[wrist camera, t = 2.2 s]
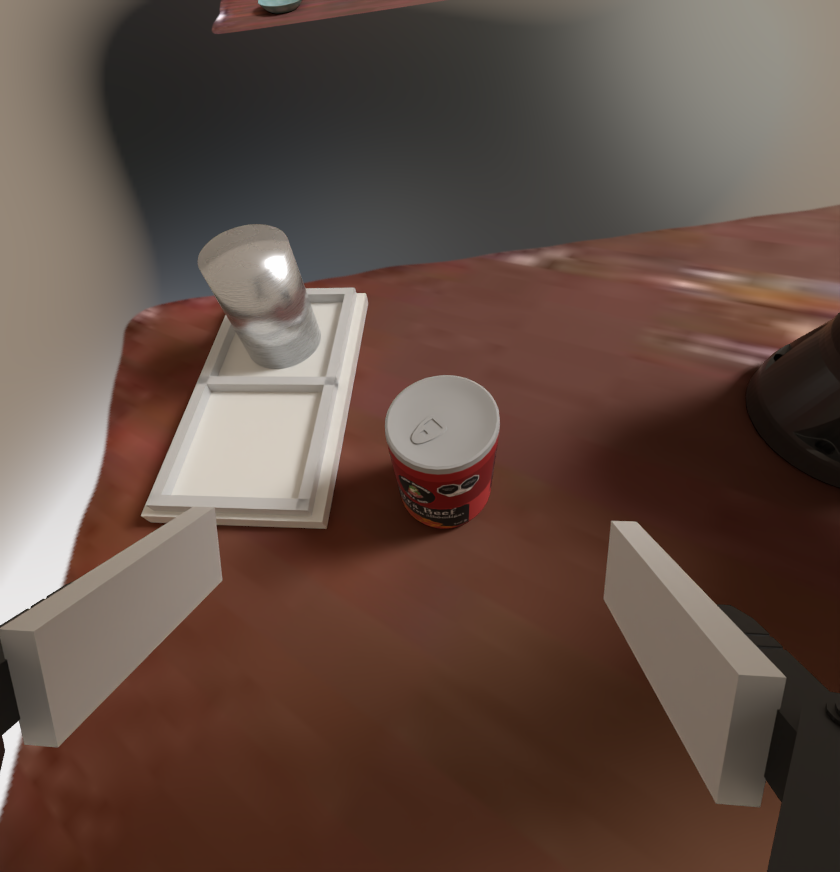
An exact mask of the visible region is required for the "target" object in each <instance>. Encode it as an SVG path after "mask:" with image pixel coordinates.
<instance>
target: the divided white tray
mask: <svg viewBox="0 0 840 872" xmlns="http://www.w3.org/2000/svg"><path fill="white" fill-rule="evenodd" d="M306 292H307V295H308V297H309V300H310V303H311V306H312V309H313V311H314V314H315V317H316V320H317V323H318V325H319V328H320V331H321V340H320V344H319V346H318V348H317V349H316V351H315V352H314V353H313V354H312V355H311V356H310V357H309V358H307V359H306V360H305V361H303V362H301V363H299V364H297V365H295V366H292V367H288V368H283V369H269V368H265V367H262V366H260V365H258V364H256V363H255V362H254V361H253V360H252V359H251V358H250V356H249V354H248V352H247V351H246V349H245V347H244V345H243V344H242V342H241V340H240V339H239V337H238V335H237V333H236V332H235V330H234V328H233V326H232V325H231V323H230V321H229V319H228V318H227V316H226V315H225V318H224V320H223V322H222V325H221V327H220V329H219V332H218V334H217V337H216V339H215V341H214V344H213V346H212V348H211V351H210V353H209V355H208V358H207V360H206V363H205V365H204V367H203V370H202V372H201V374H200V377H199V379H198V381H197V384H196V386H195V389H194V391H193V393H192V396H191V398H190V400H189V403H188V405H187V408H186V410H185V412H184V415H183V417H182V419H181V422H180V424H179V426H178V429H177V431H176V434H175V436H174V438H173V441H172V443H171V445H170V448H169V450H168V452H167V455H166V457H165V460H164V462H163V464H162V467H161V469H160V471H159V474H158V476H157V479H156V481H155V483H154V486H153V488H152V490H151V493H150V495H149V497H148V500H147V502H146V505H145V507H144V509H143V512H142V514H141V516H142V517H143V518H145V519H146V520H148V521H149V522H152V523H168V522H170V521H171V520H173V519H174V518H176V517H178V516H179V515H181V514H182V513H184V512H186V511H187V510H189V509H190V508H192V507H215V515H216V524H217V525H235V526H263V527H291V528H318V529H327V525H328V520H329V514H330V509H331V503H332V498H333V492H334V487H335V481H336V476H337V470H338V465H339V460H340V454H341V449H342V443H343V438H344V432H345V427H346V421H347V416H348V410H349V405H350V400H351V394H352V389H353V383H354V378H355V372H356V367H357V361H358V356H359V350H360V345H361V340H362V334H363V329H364V323H365V318H366V312H367V307H368V300H367V296H366V293H356V291H355V288H311V289H306Z"/></svg>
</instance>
